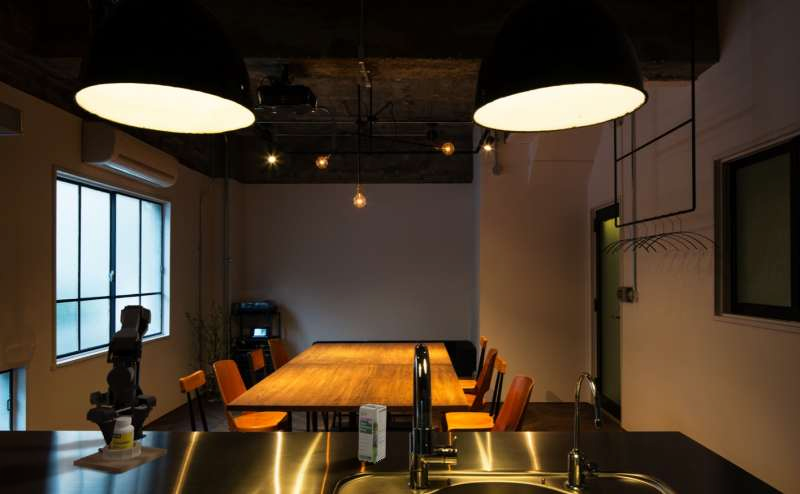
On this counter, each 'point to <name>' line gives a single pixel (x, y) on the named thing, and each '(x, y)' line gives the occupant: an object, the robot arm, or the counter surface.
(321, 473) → the counter surface
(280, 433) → the counter surface
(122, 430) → the supplement bottle
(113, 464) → the dock
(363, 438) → the syrup box
